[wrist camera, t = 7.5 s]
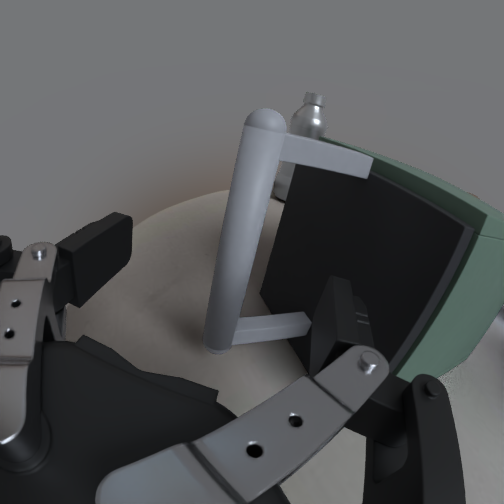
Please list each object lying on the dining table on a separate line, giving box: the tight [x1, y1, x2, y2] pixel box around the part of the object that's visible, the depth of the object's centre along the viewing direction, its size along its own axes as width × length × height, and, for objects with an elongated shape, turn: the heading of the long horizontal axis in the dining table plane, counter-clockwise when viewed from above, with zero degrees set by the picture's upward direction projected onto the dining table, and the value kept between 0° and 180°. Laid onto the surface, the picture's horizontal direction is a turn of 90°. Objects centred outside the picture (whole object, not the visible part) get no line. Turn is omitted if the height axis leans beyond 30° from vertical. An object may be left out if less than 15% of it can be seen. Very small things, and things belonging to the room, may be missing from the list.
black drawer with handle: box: [203, 108, 475, 374], centre depth 19 cm, size 22×14×15 cm, turn 111°
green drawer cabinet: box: [319, 136, 504, 382], centre depth 21 cm, size 16×14×14 cm
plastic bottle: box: [273, 92, 327, 201], centre depth 49 cm, size 6×7×20 cm
